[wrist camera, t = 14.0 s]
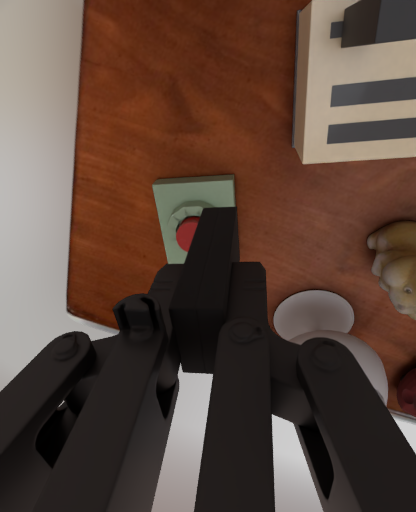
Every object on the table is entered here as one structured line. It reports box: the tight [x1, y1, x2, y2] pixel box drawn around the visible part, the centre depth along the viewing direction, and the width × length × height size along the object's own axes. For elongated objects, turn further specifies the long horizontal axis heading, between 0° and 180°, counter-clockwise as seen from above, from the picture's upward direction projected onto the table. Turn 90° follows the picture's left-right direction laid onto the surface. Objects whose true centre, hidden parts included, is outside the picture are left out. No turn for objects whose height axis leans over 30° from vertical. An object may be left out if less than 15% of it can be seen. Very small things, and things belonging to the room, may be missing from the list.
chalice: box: [273, 290, 388, 424], centre depth 43 cm, size 14×14×15 cm
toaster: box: [292, 0, 416, 164], centre depth 28 cm, size 12×14×8 cm
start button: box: [176, 217, 200, 252], centre depth 38 cm, size 4×4×2 cm
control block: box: [152, 174, 236, 264], centre depth 41 cm, size 12×10×4 cm
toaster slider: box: [341, 0, 416, 48], centre depth 19 cm, size 2×2×8 cm
